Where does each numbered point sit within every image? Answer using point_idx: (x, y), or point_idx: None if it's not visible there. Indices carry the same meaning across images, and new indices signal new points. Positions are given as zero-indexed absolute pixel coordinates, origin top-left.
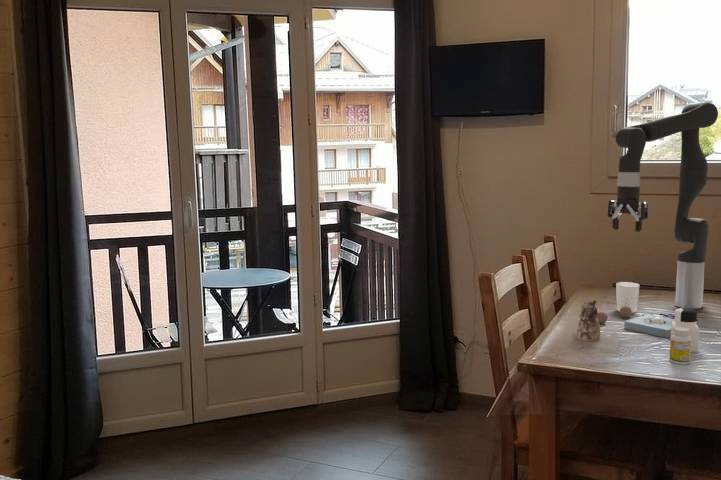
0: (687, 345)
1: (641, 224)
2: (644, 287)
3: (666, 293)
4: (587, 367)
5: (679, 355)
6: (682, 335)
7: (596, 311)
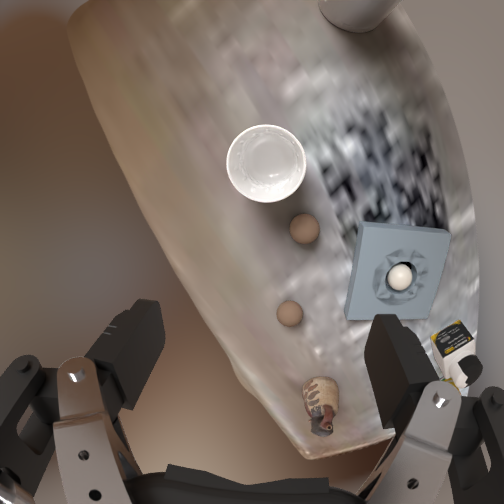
0: None
1: (427, 371)
2: None
3: None
4: (362, 442)
5: None
6: None
7: (331, 413)
